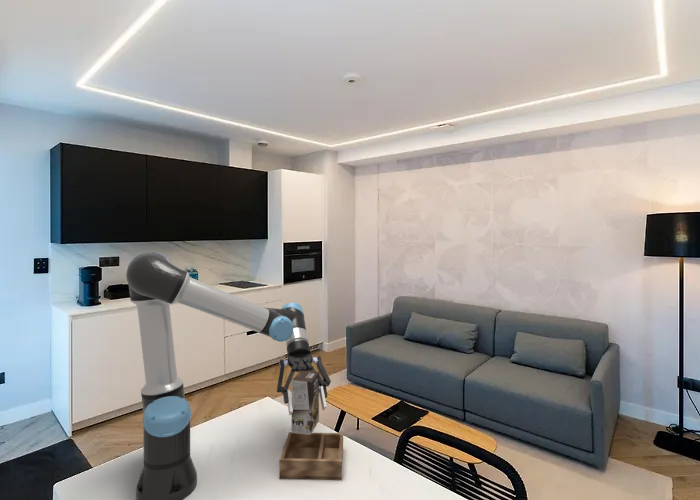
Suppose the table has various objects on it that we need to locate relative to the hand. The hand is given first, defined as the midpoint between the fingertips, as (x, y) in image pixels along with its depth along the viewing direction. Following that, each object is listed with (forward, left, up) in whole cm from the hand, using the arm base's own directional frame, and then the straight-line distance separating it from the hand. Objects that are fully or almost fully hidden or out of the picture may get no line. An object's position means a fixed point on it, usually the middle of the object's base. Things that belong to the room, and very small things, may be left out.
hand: (308, 410), depth 115 cm
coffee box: (-1, +3, -7) cm, 7 cm away
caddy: (+2, +3, -18) cm, 18 cm away
